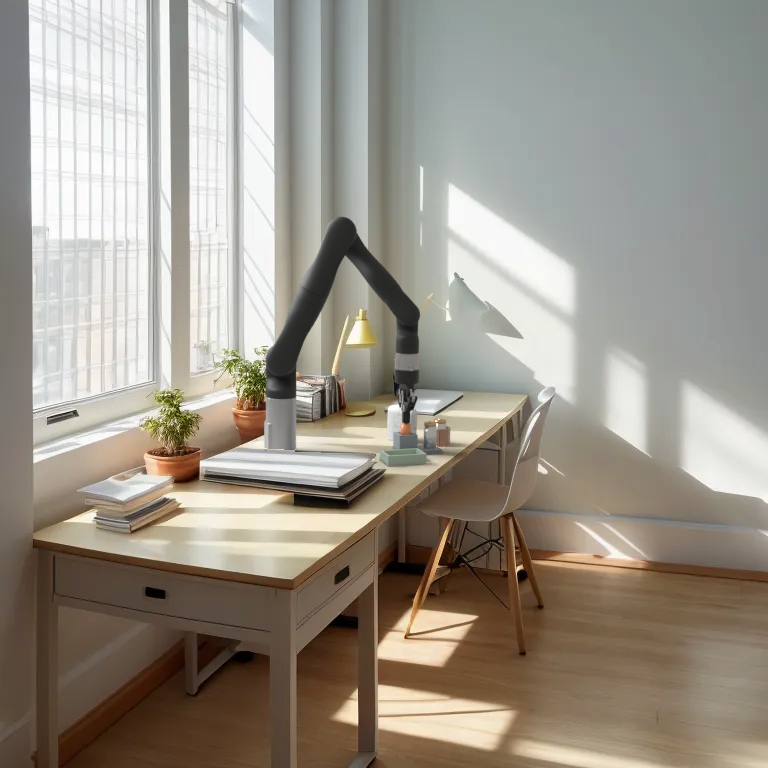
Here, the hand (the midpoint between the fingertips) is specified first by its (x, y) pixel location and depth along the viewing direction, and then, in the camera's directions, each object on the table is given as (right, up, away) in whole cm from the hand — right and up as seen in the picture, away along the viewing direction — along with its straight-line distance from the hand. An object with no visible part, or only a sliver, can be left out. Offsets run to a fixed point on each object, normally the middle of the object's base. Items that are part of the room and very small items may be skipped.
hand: (406, 423), depth 274 cm
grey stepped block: (+4, -9, +1) cm, 10 cm away
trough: (-1, -11, -11) cm, 16 cm away
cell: (+7, -8, +1) cm, 11 cm away
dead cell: (+11, -7, +12) cm, 18 cm away
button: (0, -5, +1) cm, 5 cm away
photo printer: (-1, -7, +16) cm, 17 cm away
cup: (+11, -8, +12) cm, 18 cm away
